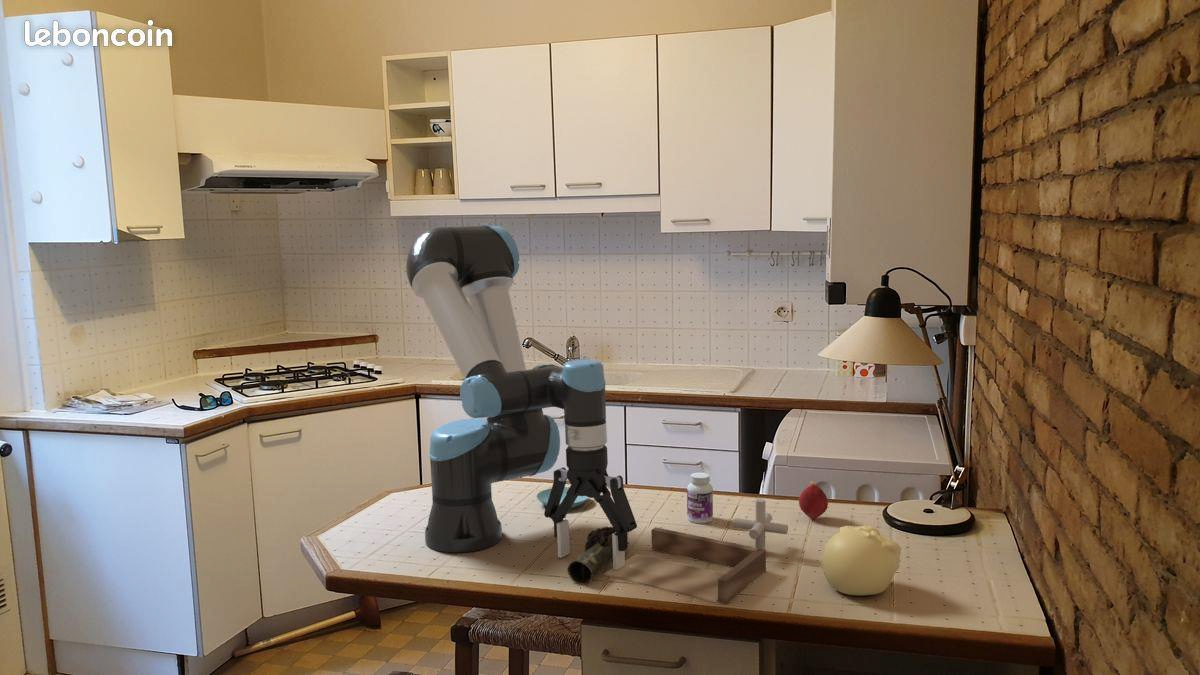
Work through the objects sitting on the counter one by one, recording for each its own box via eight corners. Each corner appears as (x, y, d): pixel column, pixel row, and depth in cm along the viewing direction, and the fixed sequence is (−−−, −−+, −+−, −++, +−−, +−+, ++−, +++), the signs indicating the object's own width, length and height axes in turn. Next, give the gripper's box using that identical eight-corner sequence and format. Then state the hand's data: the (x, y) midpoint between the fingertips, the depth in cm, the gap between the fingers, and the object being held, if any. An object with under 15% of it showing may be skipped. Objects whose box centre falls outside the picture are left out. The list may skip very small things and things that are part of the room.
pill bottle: (685, 523, 185) (684, 478, 184) (688, 514, 190) (688, 470, 189) (711, 524, 184) (711, 479, 183) (714, 516, 189) (714, 471, 188)
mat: (604, 575, 160) (604, 573, 159) (636, 555, 169) (636, 553, 169) (715, 602, 147) (715, 601, 147) (744, 579, 156) (744, 577, 156)
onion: (831, 517, 187) (831, 480, 186) (822, 525, 182) (822, 487, 181) (804, 513, 190) (804, 476, 189) (794, 521, 185) (795, 483, 184)
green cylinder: (592, 587, 155) (591, 556, 154) (558, 581, 158) (556, 551, 157) (633, 551, 171) (632, 523, 170) (601, 546, 174) (600, 518, 173)
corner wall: (609, 575, 159) (609, 554, 159) (655, 547, 172) (655, 527, 172) (726, 604, 147) (726, 581, 146) (766, 571, 160) (766, 549, 159)
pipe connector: (792, 545, 171) (793, 495, 170) (780, 564, 162) (780, 511, 161) (741, 539, 176) (741, 489, 174) (726, 557, 167) (726, 505, 165)
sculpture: (910, 591, 150) (911, 529, 149) (860, 609, 144) (862, 545, 142) (856, 569, 160) (857, 511, 158) (808, 586, 153) (809, 525, 152)
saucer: (597, 499, 203) (597, 489, 203) (577, 515, 192) (577, 505, 192) (550, 494, 207) (550, 484, 207) (527, 510, 196) (527, 500, 196)
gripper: (521, 443, 166) (527, 556, 169) (631, 457, 153) (635, 580, 155) (546, 434, 172) (551, 543, 175) (653, 448, 159) (657, 565, 162)
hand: (591, 561), depth 165 cm, fingers open, 12 cm apart
